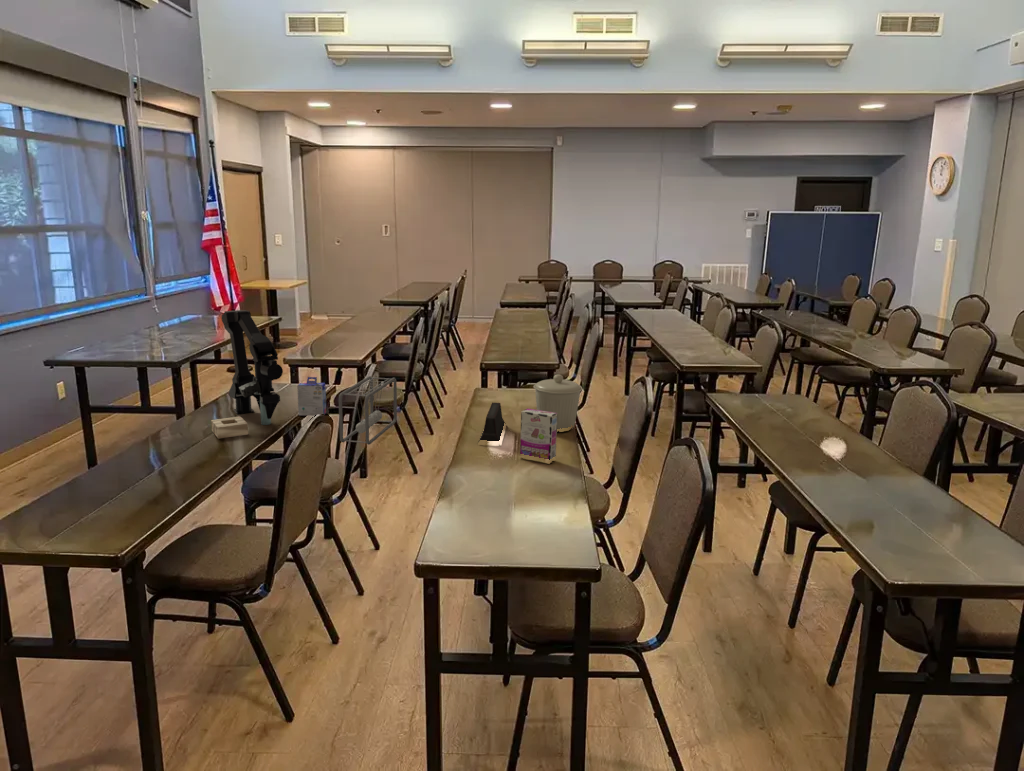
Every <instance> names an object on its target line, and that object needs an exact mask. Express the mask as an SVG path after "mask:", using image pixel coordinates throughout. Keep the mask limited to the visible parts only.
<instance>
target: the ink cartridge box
mask: <svg viewBox="0 0 1024 771" xmlns="http://www.w3.org/2000/svg"><path fill="white" fill-rule="evenodd" d="M317 380H318V378H317V376H316V377H315V376H307V380H306V382H300V383H298V385H297V406H298V407H297V408H298V416H311V417H314V416H315V415H317V414H324V415H326V414H327V413H328V412H327V391H326V390H327V389H326V383H325V382H318V381H317ZM315 417H316V416H315Z"/></svg>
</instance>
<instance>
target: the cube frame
mask: <svg viewBox="0 0 1024 771" xmlns="http://www.w3.org/2000/svg"><path fill="white" fill-rule="evenodd" d="M374 379H376V381H375V380H374ZM377 379H378V380H384V381H381V382H380V383H378V381H377ZM373 380H374V381H373ZM374 382H377V385H376V386H374ZM392 382H393V420H392V421H391V420H389V421H388V420H382V418H383V413H382V411H381V410H379V408H380V406H377V404H376V403H377V402H379V403H378V405H380V402H381V400H379V401H378V399H376V401H375V394H376V393H377V395H376V397H378V395H379V391H380V393H382V391H383V389H384V388H385V387H387V386H388V385H390V384H392ZM397 382H398V381H397V379H396V377H392V378H385V377H376V376H375V377H373V376H371V375H370V376H367V377H365V378H363V379H362V380H360V381H358V382H357V383H355V384H353V385H352V386H350V387H348V388H346V389H345V390H343V391H342V392H340V393H339V395H338V419H339V420H338V422H339V423H338V424H339V441H340V442H341V443H346V442H350V443H363V444H367V445H371V444H372V443H373V442H375V441H376V440H377V439H378V438H380V437H381V436H382V435H383V434H384V433H385V432H387V431H388V430H389V429H390V428H392V426H393V425H395V424H396V423H397V418H398V410H397V409H398V404H397V403H398V402H397V401H398V400H397V399H398V397H397V396H398V395H397V394H398V392H397V384H398V383H397ZM365 385H366V386H367V387H366V390H367V391H366V392H365V389H362V391H360V390H361V387H362V388H364V386H365ZM368 385H369V386H368ZM368 387H369V388H368ZM357 390H358V391H357ZM356 391H357V392H358V394H356V393H355V392H356ZM360 393H363V394H360ZM343 396H354V398H355V400H357V396H358V397H359V400H360V404H361V408H362V410H363V411H362V414H363V415H362V417H363V418H362V420H361V418H360V416H358V418H359V422H358V423H357V424H356V425H355V429H354V430H353V431H351V432H350V433H349V434H348V435H347V436H345V437H344V426H343V424H344V421H343V419H344V418H343V416H344V415H343ZM381 396H382V394H380V396H379V399H381ZM362 397H364V408H363V403H362V399H361V398H362ZM355 403H356V405H358V403H357V401H355ZM376 406H377V407H376ZM356 407H357V408H356V409H357V410H359V408H358V406H356ZM369 407H370V411H369ZM377 408H378V409H377ZM374 409H375V410H374ZM357 413H358V414H357V415H360V414H359V413H360V412H359V411H357ZM369 413H370V414H369ZM378 422H379V423H380V422H381V423H389V424H388V425H387V426H386V425H385V427H384V428H383V429H381V430H380V431H379V432H378V433H377V434H376V435H374V436H372V438H370V428H372V427H373V426H374V425H375V424H376V423H378ZM357 433H358V434H363V433H365V441H360V440H359V441H358V440H349V439H351V437H353V436H355V434H357Z"/></svg>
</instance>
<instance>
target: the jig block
mask: <svg viewBox="0 0 1024 771" xmlns="http://www.w3.org/2000/svg"><path fill="white" fill-rule="evenodd" d="M210 424H211V432H212V433H213V434H214V435H215V436H216V438H217V439H218V440H219V439H226V438H232V437H240V436H246V435H249V424H248V422H247V421H246V420H244V418H243V417H241V416H234V417H233V416H232V417H227V418H226V417H225V418H218V419H211V420H210Z"/></svg>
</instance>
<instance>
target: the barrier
mask: <svg viewBox="0 0 1024 771" xmlns="http://www.w3.org/2000/svg"><path fill="white" fill-rule="evenodd" d="M501 404H502V403H501V402H491V404H490V407H489V409H488V412H487V414H486V418H485V420H484V428H483V429H484V431H483V430H482V432H483V433H482V432H481V434H482V436H481V435H480V437H481V438H480V437H479V439H480V440H487V441H499V440H500V436H501V433H502V430H503V426H504V423H505V424H506V422H505V420H504V418H503V413H502V406H501Z"/></svg>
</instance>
